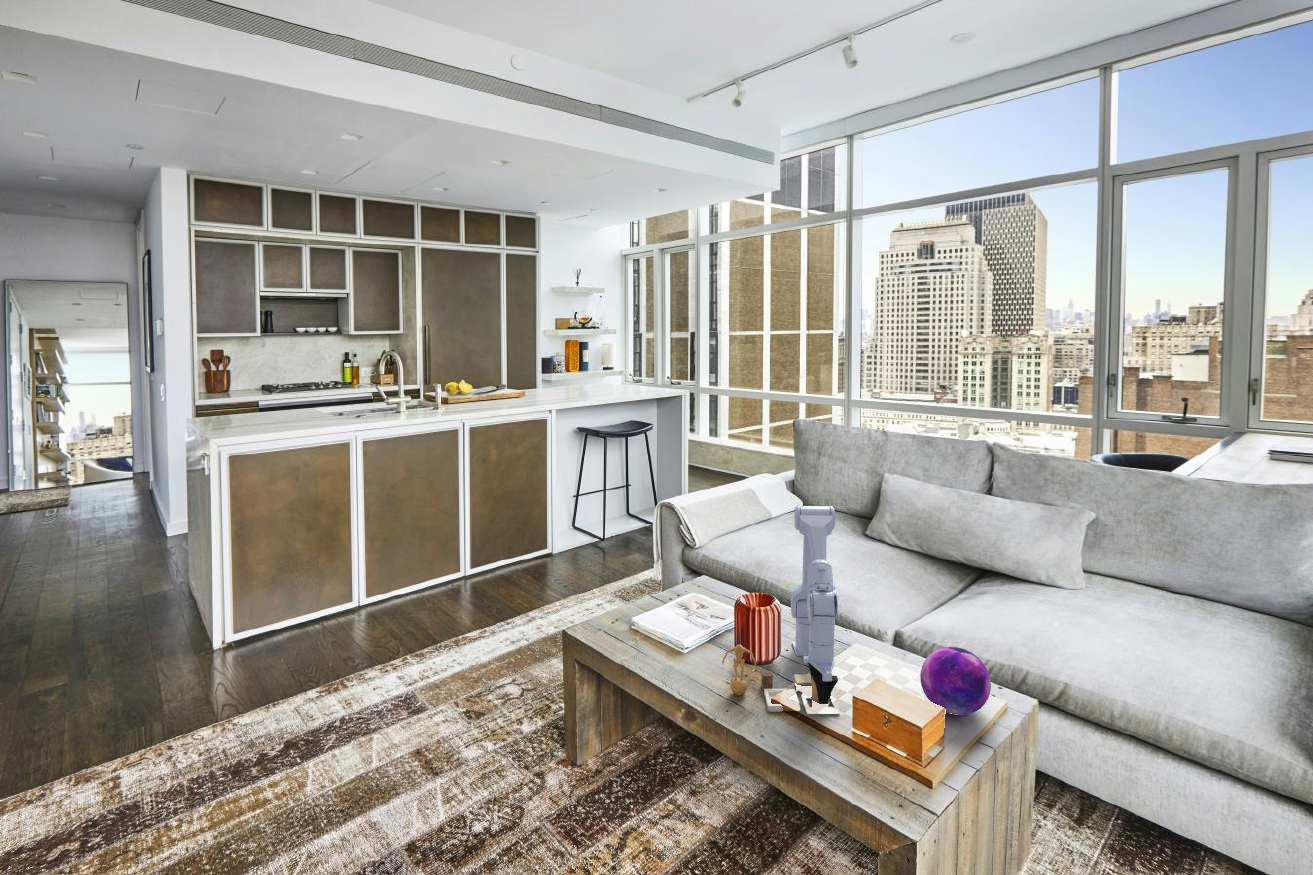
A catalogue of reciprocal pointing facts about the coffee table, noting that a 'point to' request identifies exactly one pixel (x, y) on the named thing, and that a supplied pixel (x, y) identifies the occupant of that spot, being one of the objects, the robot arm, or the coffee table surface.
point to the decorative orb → (955, 680)
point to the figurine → (738, 683)
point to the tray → (768, 695)
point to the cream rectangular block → (803, 679)
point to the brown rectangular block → (767, 680)
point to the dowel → (814, 691)
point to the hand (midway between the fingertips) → (820, 694)
